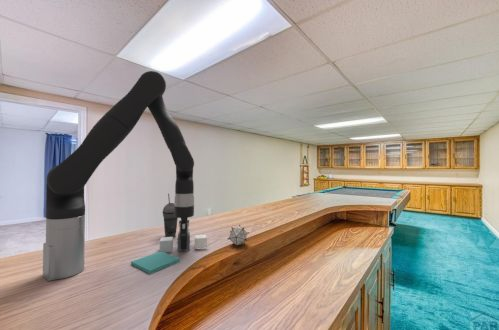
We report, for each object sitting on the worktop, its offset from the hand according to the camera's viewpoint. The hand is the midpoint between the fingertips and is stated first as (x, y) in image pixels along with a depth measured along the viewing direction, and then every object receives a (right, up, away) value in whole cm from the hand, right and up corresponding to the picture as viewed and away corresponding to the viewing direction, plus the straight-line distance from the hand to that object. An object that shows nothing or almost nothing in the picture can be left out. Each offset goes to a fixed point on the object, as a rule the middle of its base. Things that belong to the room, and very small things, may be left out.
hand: (183, 245), depth 88 cm
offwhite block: (+6, -1, +2) cm, 7 cm away
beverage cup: (-11, -1, +15) cm, 18 cm away
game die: (+21, -2, +5) cm, 22 cm away
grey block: (-6, -1, -2) cm, 7 cm away
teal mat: (-6, -1, -13) cm, 15 cm away
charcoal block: (0, -1, 0) cm, 1 cm away
